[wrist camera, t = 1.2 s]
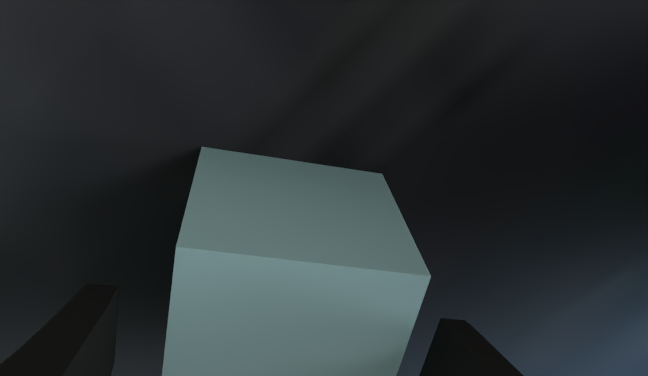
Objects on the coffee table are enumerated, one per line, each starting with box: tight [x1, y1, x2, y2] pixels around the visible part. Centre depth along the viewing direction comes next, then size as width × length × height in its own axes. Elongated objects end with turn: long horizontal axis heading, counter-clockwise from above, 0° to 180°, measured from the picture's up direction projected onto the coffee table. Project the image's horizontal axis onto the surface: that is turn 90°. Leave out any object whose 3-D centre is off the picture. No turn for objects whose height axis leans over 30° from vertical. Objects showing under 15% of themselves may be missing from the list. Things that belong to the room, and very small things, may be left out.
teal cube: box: [162, 147, 431, 376], centre depth 14 cm, size 5×5×5 cm
